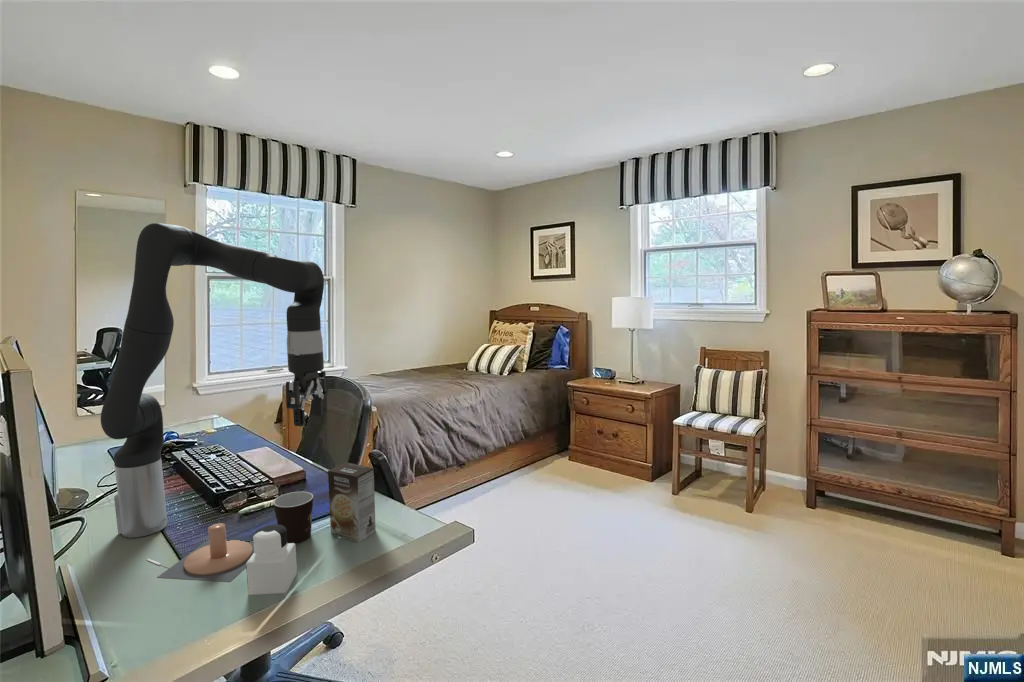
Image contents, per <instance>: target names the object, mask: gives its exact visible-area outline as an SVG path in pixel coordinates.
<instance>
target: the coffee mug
mask: <svg viewBox="0 0 1024 682" xmlns="http://www.w3.org/2000/svg"><path fill="white" fill-rule="evenodd" d="M313 502H314V494H313V493H311V492H309V491H293V492H288V493H284V494H282V495H279V496H277V497H276V498H274V499H273V503H272V505H273V509H274V514H275V519H276V523H277V524H276V525H283V526H284V527H286V529H287V543H295V545H298V544H302V543H304V542H306V541H307V540H309V539H310V538H311V535H312V521H313V519H312V518H313V506H314V505H313V504H314V503H313Z"/></svg>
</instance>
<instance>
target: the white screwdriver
mask: <svg viewBox="0 0 1024 682" xmlns="http://www.w3.org/2000/svg"><path fill="white" fill-rule="evenodd" d="M146 561H148V562H151V563H153V564H155V565H158V566H161V567H164V568H165V569H167V570H168V569H169V568H170V567H169V568H168V567H167V566H163V565H162V563H160V562H159V561H156V560H152V559H150V558H147V559H146Z"/></svg>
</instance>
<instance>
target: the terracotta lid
mask: <svg viewBox="0 0 1024 682" xmlns="http://www.w3.org/2000/svg"><path fill="white" fill-rule="evenodd" d="M207 532H208V540H209V545H207V546H205V547H202V548H200V549H198V550H196V551H195V552H193V553H192V554H190V553H189V554H190V555H189V556H188V557H187V558H186V559H185V561H184V569H185V571H186V572H187V573H189V574H192V575H213V574H218V573H222V572H225V571H228V570H231V569H233V568H235V567H238V566H239V565H241V564H243V563H244V562H246V561H247V560H248V559H249V558H250V557H251V555H252V545H251V544H250V543H248V542H245V541H240V540H241V539H229V540H230V541H226V539H227V532H226V524H225V523H223V522H222V523H221V522H220V523H214V524H212V525H210V526H208V528H207Z"/></svg>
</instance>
